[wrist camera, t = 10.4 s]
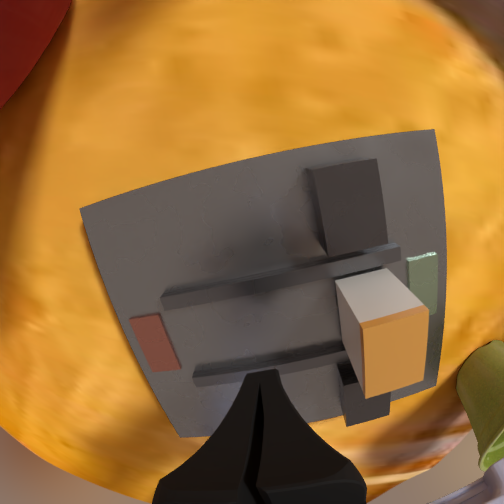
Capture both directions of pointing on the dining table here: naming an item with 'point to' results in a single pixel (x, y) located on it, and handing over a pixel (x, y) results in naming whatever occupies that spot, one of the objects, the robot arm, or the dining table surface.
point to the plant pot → (485, 399)
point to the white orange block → (382, 331)
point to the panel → (271, 271)
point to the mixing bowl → (25, 38)
